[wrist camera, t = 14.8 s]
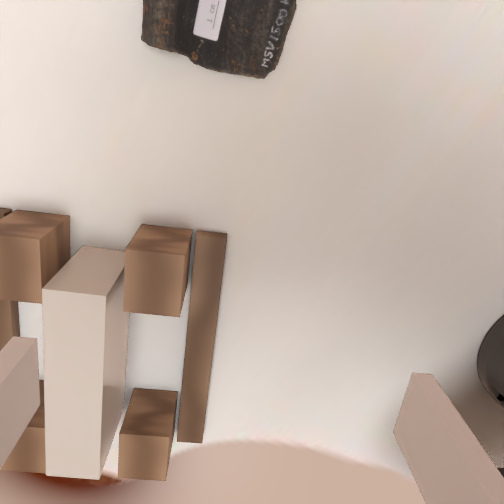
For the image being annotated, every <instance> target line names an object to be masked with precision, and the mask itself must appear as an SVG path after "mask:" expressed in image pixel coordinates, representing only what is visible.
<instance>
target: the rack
mask: <svg viewBox="0 0 504 504" xmlns="http://www.w3.org/2000/svg"><path fill="white" fill-rule="evenodd" d="M191 239H192V230H188V229H179V228H171V227H162V226H153V225H145V224H142V225H141V226H140V228H139V229H138V231H137V232H136V234H135V235H134V237H133V238H132V240H131V241H130V243H129V244H128V246H127V247H126V249H125V271H124V303H123V312H133V313H143V314H153V315H163V316H174V317H180V313H181V309H182V305H183V301H184V296H185V292H186V288H187V283H188V272H189V261H190V250H191ZM226 241H227V234H223V233H214V232H205V231H197V234H196V241H195V252H194V263H193V273H192V284H191V295H190V305H189V316H188V327H187V338H186V348H185V359H184V370H183V380H182V391H181V402H180V413H179V423H178V434H177V442H190V443H202V440H203V432H204V423H205V415H206V407H207V398H208V390H209V382H210V374H211V365H212V357H213V349H214V340H215V332H216V324H217V316H218V307H219V299H220V291H221V282H222V274H223V266H224V257H225V249H226ZM69 260H70V216H66V215H58V214H49V213H40V212H32V211H23V210H16V211H14V212H12V209H6V208H0V351H1V350H2V349H3V347H4V346H5V345H6V344H7V343H8V342H9V341H10V339H11V338H12V337H13V336H15V337H20V330H19V315H18V301H20V302H30V303H41V304H42V288H43V287H44V286H45V285H46V284H47V283H48V282H49V281H50V280H51V279H52V278H53V277H54V276H55V275H56V273H57V272H58V271H59V270H60V269H61V268H62V267H63V266H64V265H65V264H66V263H67V262H68V261H69ZM39 389H40V406H39V407H38V409H37V411H36V412H35V414H34V415H33V417H32V419H31V420H30V422H29V424H28V425H27V427H26V429H25V430H24V432H23V433H22V435H21V437H20V438H19V440H18V442H17V443H16V445H15V447H14V448H13V450H12V451H11V453H10V455H9V456H8V458H7V460H6V461H5V463H4V465H3V466H2V468H1V469H0V470H5V471H22V472H37V473H46V453H45V406H44V381H43V380H39ZM177 395H178V392H176V391H164V390H152V389H140V388H134V391H133V394H132V397H131V400H130V403H129V406H128V409H127V412H126V415H125V418H124V421H123V424H122V427H121V430H120V433H119V460H118V478H127V479H143V480H159V481H166V476H167V470H168V464H169V459H170V453H171V447H172V442H173V436H174V428H175V417H176V406H177Z"/></svg>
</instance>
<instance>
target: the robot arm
mask: <svg viewBox="0 0 504 504" xmlns="http://www.w3.org/2000/svg"><path fill="white" fill-rule="evenodd" d="M477 364H478V374H479V377H480V380H481V382H482V384H483V386H484V387H485V388H486V390H487V391H488V392H489V393H490V394H491V396H492V397H493V398H494V399H495V400H496V401H497V402H498V403H499V404H500V405H501V406H502V407H504V316H503V317H502V318H501V319H500V320H499V321H498V322H497V323H496V324H495V325H494V326H493V327H492V329H491V330H490V331H489V333H488V334H487V336H486V337H485V339H484V341H483V343H482V345H481V348H480V351H479V355H478V363H477ZM39 406H40V389H39V369H38V349H37V338H26V337H15V336H13V337H12V338H11V339H10V341H9V342H8V343H7V344H6V345H5V346H4V347H3V349H2V350H1V351H0V469H1V468H2V466H3V465H4V463H5V461H6V460H7V458H8V456H9V455H10V453H11V451H12V450H13V448H14V447H15V445H16V443H17V442H18V440H19V438H20V437H21V435H22V433H23V432H24V430H25V429H26V427H27V425H28V424H29V422H30V420H31V419H32V417H33V415H34V414H35V412H36V411H37V409H38V407H39ZM393 433H394V435H395V437H396V439H397V442H398V444H399V446H400V448H401V450H402V452H403V455H404V457H405V459H406V461H407V463H408V465H409V468H410V470H411V472H412V474H413V476H414V478H415V481H416V483H417V485H418V487H419V489H420V492H421V494H422V496H423V498H424V500H425V502H426V504H504V468H497V467H496V466H495V465H494V463H493V462H492V460H491V459H490V457H489V456H488V454H487V453H486V451H485V450H484V449H483V447H482V446H481V444H480V443H479V441H478V440H477V438H476V437H475V436H474V434H473V433H472V431H471V430H470V428H469V427H468V425H467V424H466V422H465V421H464V420H463V418H462V417H461V415H460V414H459V412H458V411H457V409H456V408H455V407H454V405H453V404H452V402H451V401H450V399H449V398H448V396H447V395H446V393H445V392H444V391H443V389H442V388H441V386H440V385H439V383H438V382H437V380H436V379H435V378H434V376H433V375H432V374H421V373H412V375H411V378H410V381H409V384H408V387H407V390H406V393H405V397H404V400H403V403H402V406H401V409H400V412H399V415H398V418H397V422H396V425H395V428H394V431H393Z"/></svg>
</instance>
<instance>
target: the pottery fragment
mask: <svg viewBox="0 0 504 504" xmlns="http://www.w3.org/2000/svg"><path fill="white" fill-rule="evenodd" d="M295 10H296V0H143V23H142V36H141V40H142V41H144V42H145V43H146V44H148V45H149V46H152V47H156V48H159V49H163V50H166V51H169V52H177V53H179V54H183V55H186V56H187V57H189V59H190V60H191V61H192V62H193V63H194V64H198V65H200V66H202V67H205V68H207V69H211V70H215V71H218V72H227V73H230V74H238V75H245V76H249V77H256V78H265V77H266V76H267V74H268V73H269V72H271V71H272V70H274V69H275V67H276V65H277V64H278V61H279V58H280V56H281V52H282V50H283V45H284V42H285V39H286V35H287V32H288V30H289V27H290V25H291V22H292V19H293V16H294V13H295Z"/></svg>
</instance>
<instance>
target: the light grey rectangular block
mask: <svg viewBox="0 0 504 504" xmlns="http://www.w3.org/2000/svg"><path fill="white" fill-rule="evenodd" d="M124 271H125V251H121V250H113V249H105V248H97V247H89V246H82V247H81V248H80V249H79V250H78V251H77V252H76V253H75V255H74V256H73V257H72V258H71V259H70V260H69V261H68V262H67V263H66V264H65V265H64V266H63V267H62V268H61V269H60V270H59V271H58V272H57V273H56V275H55V276H54V277H53V278H52V279H51V280H50V281H49V282H48V283H47V284H46V285H45V286H44V287H43V288H42V313H43V360H44V406H45V453H46V475H47V476H60V477H72V478H85V479H98V480H99V479H100V476H101V473H102V470H103V467H104V464H105V461H106V458H107V456H108V453H109V450H110V447H111V444H112V441H113V438H114V435H115V432H116V429H117V426H118V424H119V421H120V418H121V415H122V412H123V409H124V395H125V378H126V362H127V345H128V329H129V312H123V303H124Z"/></svg>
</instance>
